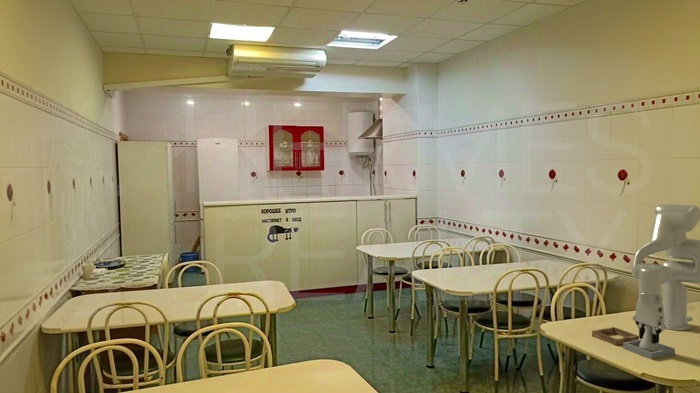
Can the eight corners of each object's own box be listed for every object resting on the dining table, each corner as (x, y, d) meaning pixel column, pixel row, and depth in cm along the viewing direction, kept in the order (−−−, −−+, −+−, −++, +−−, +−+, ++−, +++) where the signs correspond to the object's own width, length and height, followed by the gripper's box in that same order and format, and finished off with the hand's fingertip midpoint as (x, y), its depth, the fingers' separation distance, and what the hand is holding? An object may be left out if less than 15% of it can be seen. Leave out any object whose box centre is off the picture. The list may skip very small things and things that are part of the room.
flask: (662, 352, 200) (662, 328, 200) (642, 351, 202) (642, 327, 201) (654, 345, 208) (655, 322, 207) (635, 344, 209) (636, 321, 208)
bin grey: (645, 344, 213) (646, 338, 213) (674, 354, 201) (674, 348, 201) (623, 348, 209) (623, 342, 208) (651, 359, 196) (651, 353, 196)
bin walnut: (613, 332, 228) (613, 327, 228) (638, 341, 216) (638, 335, 216) (592, 336, 224) (592, 330, 224) (616, 345, 212) (616, 339, 212)
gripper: (675, 301, 197) (675, 346, 198) (637, 291, 213) (637, 332, 214) (662, 303, 194) (661, 349, 195) (624, 293, 210) (624, 335, 211)
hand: (648, 340), depth 205 cm, fingers closed on flask, 5 cm apart
